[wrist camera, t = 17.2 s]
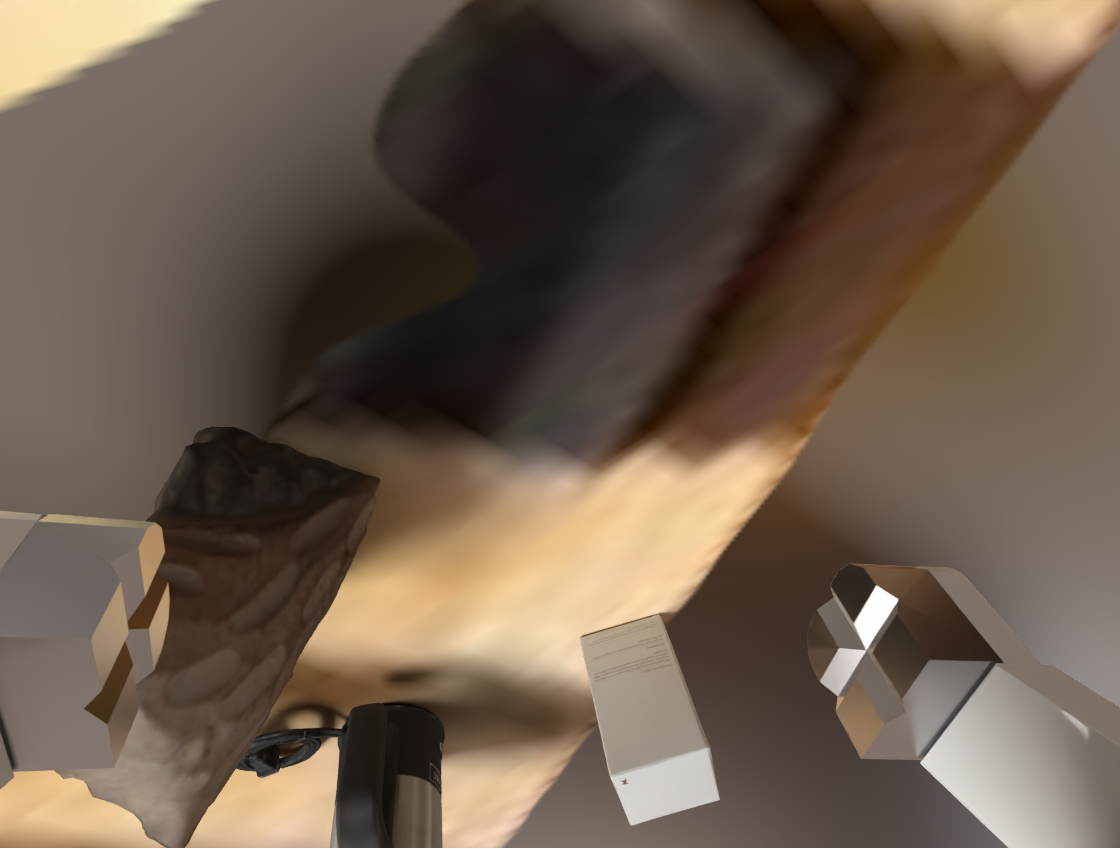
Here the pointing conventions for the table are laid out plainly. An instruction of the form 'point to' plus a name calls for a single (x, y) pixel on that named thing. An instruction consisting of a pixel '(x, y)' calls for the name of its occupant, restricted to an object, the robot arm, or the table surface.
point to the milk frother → (373, 775)
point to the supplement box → (648, 721)
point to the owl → (230, 615)
